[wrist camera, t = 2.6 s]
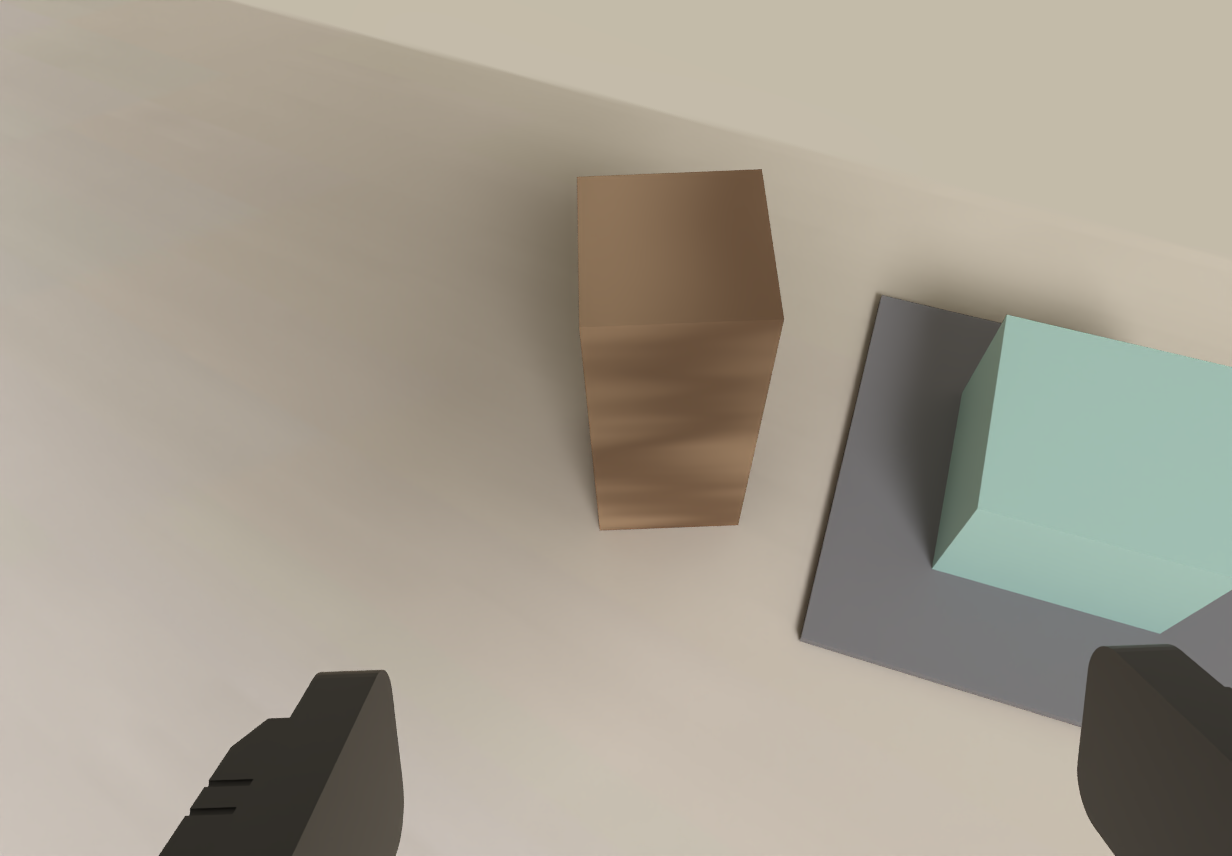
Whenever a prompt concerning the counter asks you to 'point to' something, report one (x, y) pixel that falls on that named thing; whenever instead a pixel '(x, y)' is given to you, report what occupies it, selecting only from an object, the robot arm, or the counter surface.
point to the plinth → (1092, 476)
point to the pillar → (675, 341)
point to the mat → (907, 534)
